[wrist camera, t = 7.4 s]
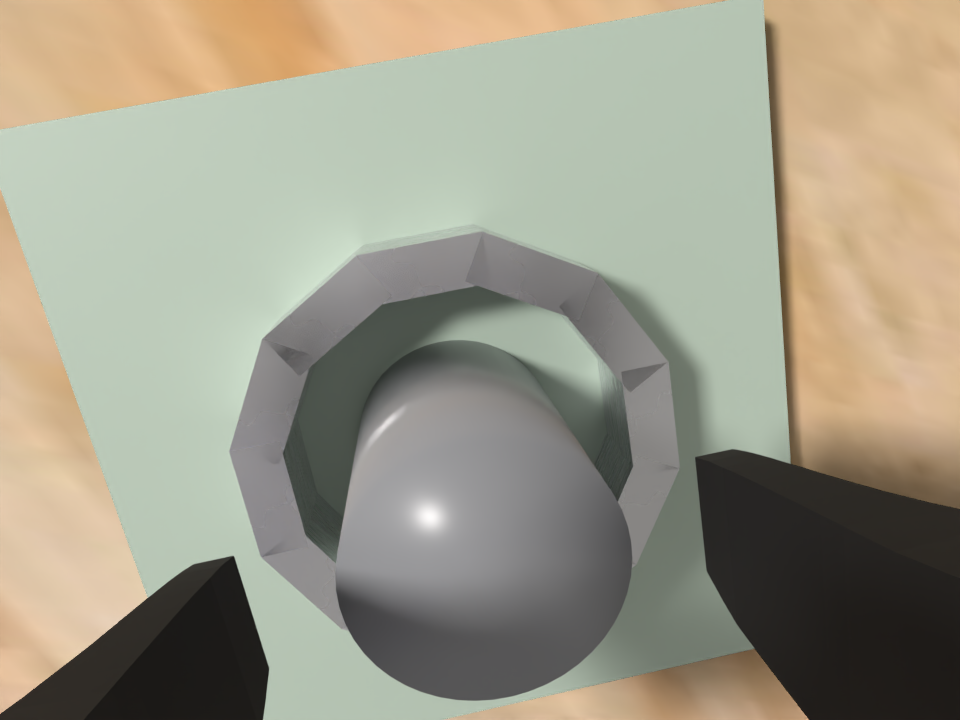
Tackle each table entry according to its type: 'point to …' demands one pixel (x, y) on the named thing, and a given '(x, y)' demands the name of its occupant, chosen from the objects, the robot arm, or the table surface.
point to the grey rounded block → (476, 530)
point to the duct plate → (423, 320)
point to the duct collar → (415, 273)
